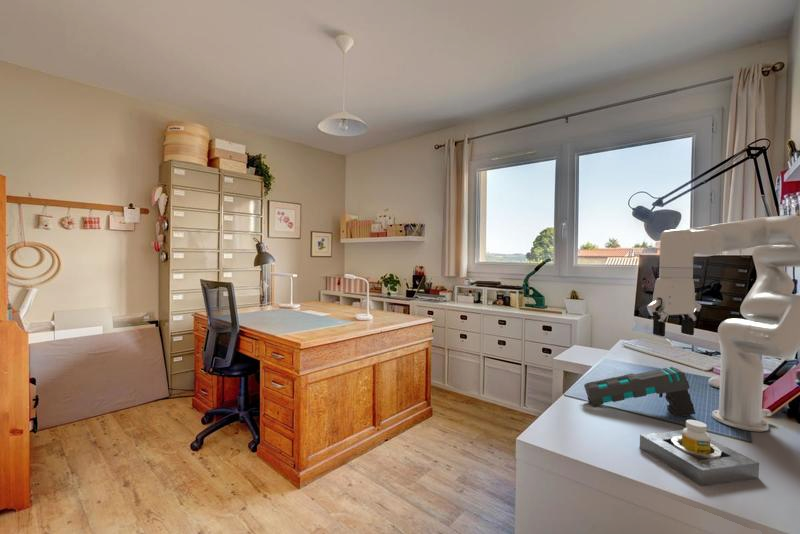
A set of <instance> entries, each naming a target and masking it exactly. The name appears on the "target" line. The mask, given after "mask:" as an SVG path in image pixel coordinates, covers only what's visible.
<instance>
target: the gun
mask: <svg viewBox="0 0 800 534" xmlns="http://www.w3.org/2000/svg"><path fill="white" fill-rule="evenodd" d="M583 387H584V389H585V393H586V396H587V401H588V403H589V404H590V405H591V406H592V407H594V406H600V405H601V406H602V405H604V404H605V403H610V402H612V403H617V402H621V401H625V399H631V398H634V399H635V398H636V399H637V398H641V397H646V396H647V395H652V394H659V395H658V397H659V398H663V395H664V394H665V396H664V397H665V401H666V402H667V403H668V404H667V405H666V408H667V410H668V411H670V412H671V413H672V414H673V415H674V416H676V417H685V416H691V415H695V414H696V411H695V408H694V403H693V402H692V398H691V394H690V393H689V389H690V388H691V387H690V383H689V381H688V380H687V376H686V374H685V372H684V371H682V370H681V369H679V368H676V367H673V366H669V368H668V367H664V368H662V369H655V370H649V371H644V372H640V373H635V374H634V373H627V374H624V375H620V376H615V377H608V378H604V379H602V380H595V381H590V382H587V383H585V384H583Z"/></svg>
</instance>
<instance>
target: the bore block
mask: <svg viewBox="0 0 800 534" xmlns="http://www.w3.org/2000/svg"><path fill="white" fill-rule="evenodd" d="M682 431H683V429H680V430H673V431H672V430H671V431H670V430H669V431H663V432H661V431H660V432H654V433H653V432H651V433H642V434H640V435H639V448H640V449H641V450H643V452H644V451H645V452H646V453H648V454H649V455H651V456H653V457H654V458H655V459H657V460H659V461H660V462H662V463H664V464H665V465H667V466H668V467H670V468H672V469H674V470H675V471H677V472H678V473H679V474H681V475H683V476H685V477H687V478H688V479H690V480H691V481H692V482H694V483H696V484H697V485H699V486H701V487H703V486H711V485H718V484H725V483H733V482H738V481H745V480H752V479H759V476H760V475H759V473H760V462H759V461H756V460H755V459H752V458H750V457H748V456H746V455H745V454H742V453H740V452H738V451H736V450H734V449H732V448H729V447H728V446H725V445H723V444H721V443H719V442H716V440H713V439H712V438H710V453H709V454H705V453H699V452H695V451H692V450H689V449H687V448H685V447H683V446H682Z"/></svg>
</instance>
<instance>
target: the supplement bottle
mask: <svg viewBox="0 0 800 534" xmlns="http://www.w3.org/2000/svg"><path fill="white" fill-rule="evenodd" d="M682 430H683V431H682V446H683V447H685V448H687V449H689V450H692V451H695V452H699V453H705V454H709V453H710V439H711V436H710V434H709V433H707V431H708V424H706V423H704V422H702V421H700V420H695V419H687V420H685V427H684V428H683V429H682Z"/></svg>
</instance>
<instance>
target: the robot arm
mask: <svg viewBox="0 0 800 534" xmlns="http://www.w3.org/2000/svg"><path fill="white" fill-rule="evenodd" d="M659 242H660V243H659V265H658V266H659V271H658V278H656V280H655V283H654V288H653V293H652V300H651V302H649V304H647V305H646V308H647V311H648V316H649V317H651V318H650V319H651V320H652V322H653V323H652V334H653V335H655V336H659V337H665V336H666V321H665V320H666V318H667V317H668V316H682V319H681V327H680V331H681V334H683V335H689V336H694V333H695V321H697V317H698V316H699V315H700V310H701V309H702V304H701V303H699V302H697V301H696V292H695V291H696V290H695V282H694V279H693V277H694V276H693V275H694V257H711V256H715V255H718V254H720V253H721V252H735V251H741V250H745V249H751V248H753V249H752V253H751V254H752V259H753V260H752V261H753V263H754V266H755V267H754V268H755V270H756V280H755V282H754V283H753V284H752V287H751V288H750V290H749V291H748V293H747V294H746V296H745V297H744V299H743V301H742V303H741V305H740V309H739V312H740V315H742V317H743V318H737V317H735V318H733V317H732V318H727V319H725V320H722V321H721V322H720V324H718V325H719V326H718V327H717V337H718V342H719V348H720V370H719V371H720V372H719V373H720V376H719V395H718V396H719V397H718V398H719V400H718V409H715V410H713V411H711V416H712V418H713V419H714V420H716V421H717V422H719V423H722V424H724V425H727V426H730V427H731V428H734V429H735V428H736V429H738V430H739V429H740V430H743V431H749V432H750V431H751V432H759V433H760V432H766V431H768V430H769V423H768V422H766V421H765V420H764V419H763V418H764V417H770V416H772V411H771V410H770V409H768V408H763V396H764V395H763V394H764V393H763V392H764V391H763V390H764V389H763V388H764V375H765V374H764V373H765V370H764V365H763V363H762V361H761V359H760V357H759V356H758V355H760V356H765V357H770V358H775V359H779V360H780V359H783V360H786V359H790V358H792V357H794V356H795V355H796V354H797V353H798V352H799V350H800V294H794V293H793V291H794V289H795V283H794V280H793V279H792V278H791V276H790V275H789V274H788V273H787V272H786V270H785V269H784V268H783V267H787V268H789V267H790V268H791V267H792V268H800V216H799V215H794V214H790V215H789V214H788V215H777V216H775V215H774V216H763V217H762V216H761V217H754V218H748V219H743V220H742V219H741V220H736V221H729V222H725V223H723V222H722V223H716V224H712V225H707V226H700V227H692V228H685V229H668V230H664V231H662V232H661V234H660V241H659ZM792 293H793V294H792Z"/></svg>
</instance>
